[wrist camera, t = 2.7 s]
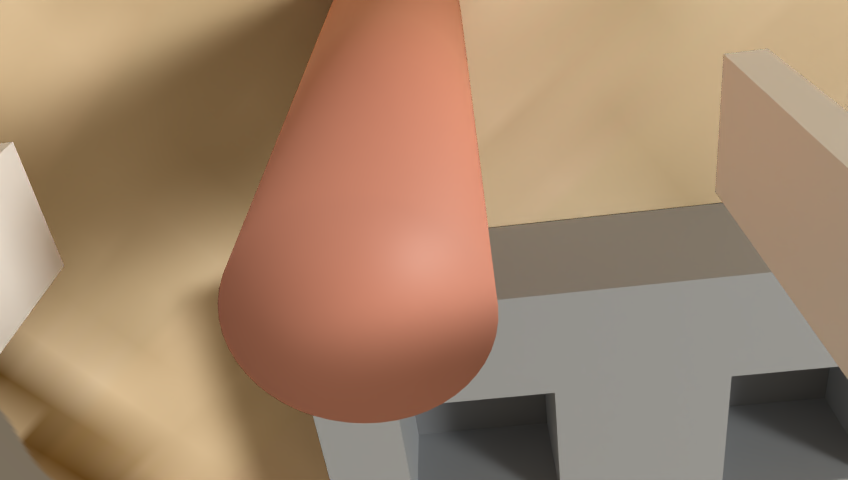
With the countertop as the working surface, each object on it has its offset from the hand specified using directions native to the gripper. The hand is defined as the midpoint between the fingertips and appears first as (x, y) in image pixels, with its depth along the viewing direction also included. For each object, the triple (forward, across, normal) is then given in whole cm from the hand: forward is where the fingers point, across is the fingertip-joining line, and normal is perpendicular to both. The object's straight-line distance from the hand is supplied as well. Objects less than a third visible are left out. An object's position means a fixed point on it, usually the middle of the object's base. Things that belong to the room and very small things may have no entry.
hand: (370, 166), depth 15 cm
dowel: (+9, 0, 0) cm, 9 cm away
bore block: (+9, +6, -13) cm, 17 cm away
